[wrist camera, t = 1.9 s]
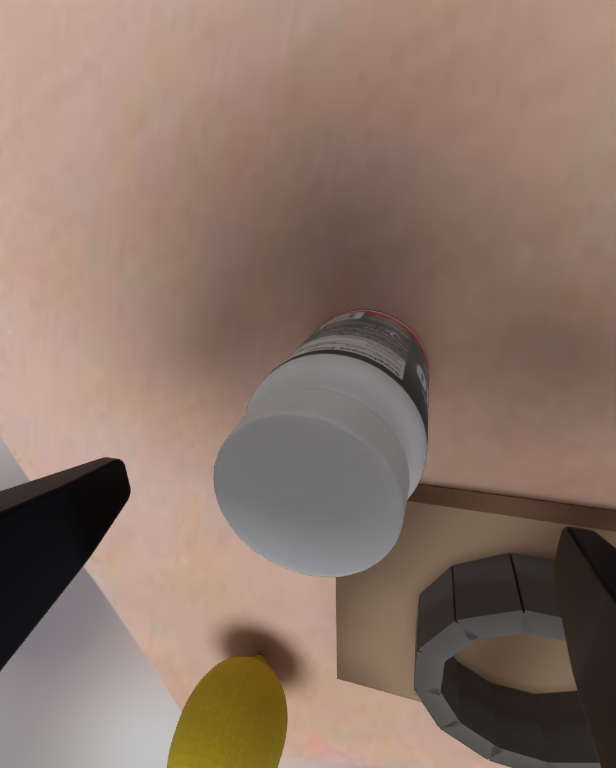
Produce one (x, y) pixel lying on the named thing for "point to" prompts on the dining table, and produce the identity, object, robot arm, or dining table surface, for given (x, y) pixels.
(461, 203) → the dining table surface
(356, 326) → the pill bottle
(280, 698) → the lemon
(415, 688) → the socket board
